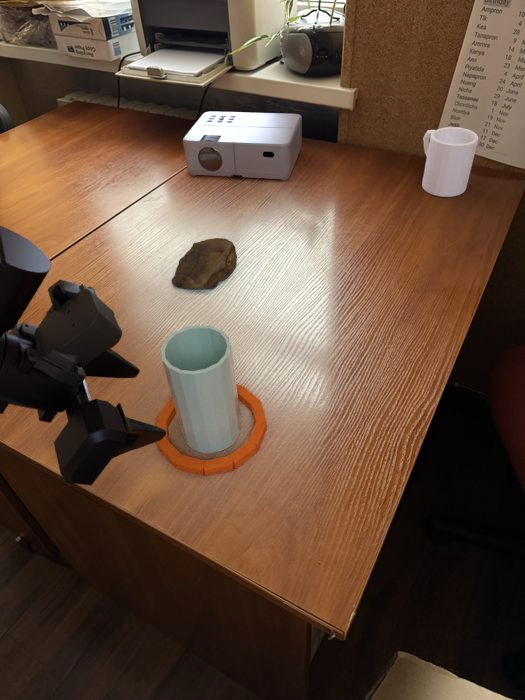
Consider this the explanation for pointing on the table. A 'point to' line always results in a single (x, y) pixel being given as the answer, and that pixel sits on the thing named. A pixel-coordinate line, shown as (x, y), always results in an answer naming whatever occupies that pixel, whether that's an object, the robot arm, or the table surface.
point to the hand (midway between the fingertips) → (149, 402)
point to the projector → (244, 144)
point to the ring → (223, 462)
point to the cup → (203, 387)
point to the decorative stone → (206, 264)
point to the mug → (448, 160)
